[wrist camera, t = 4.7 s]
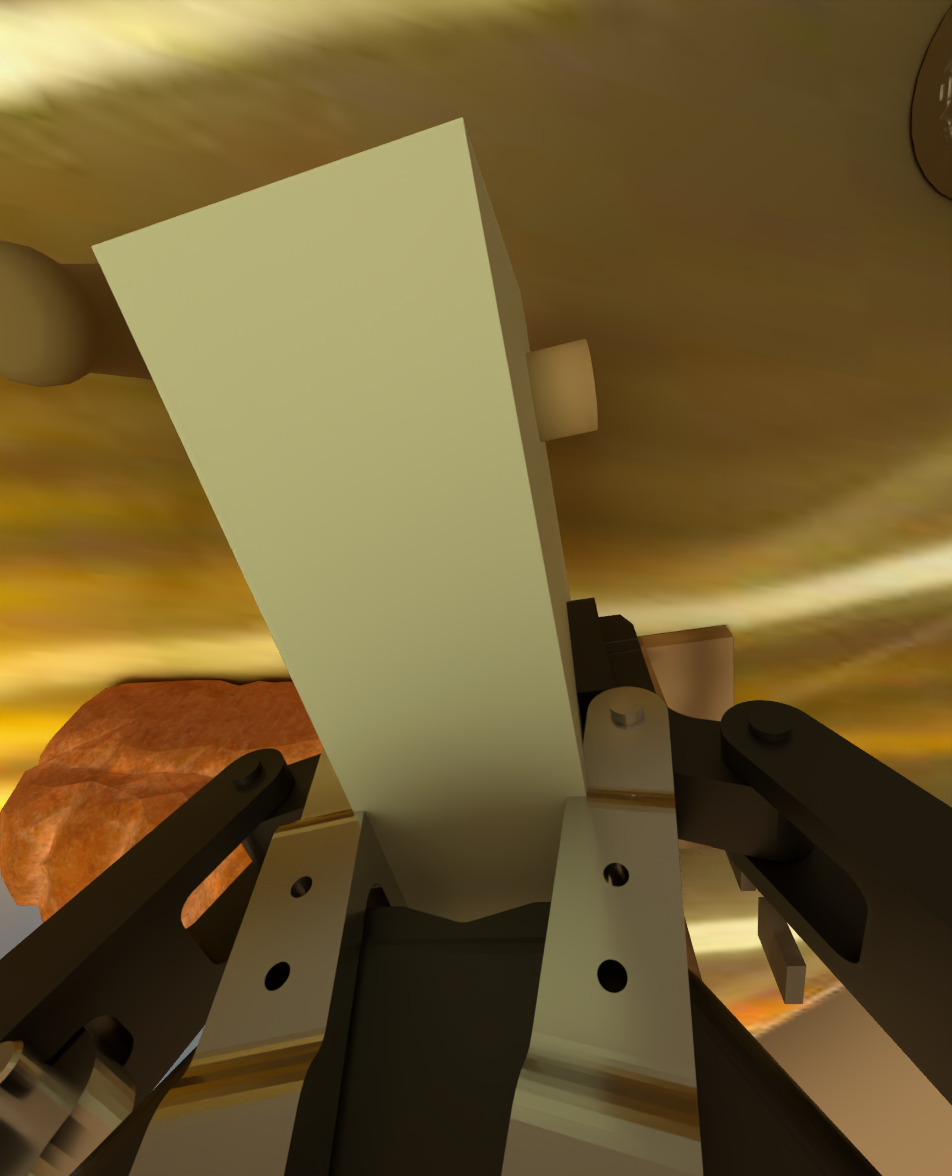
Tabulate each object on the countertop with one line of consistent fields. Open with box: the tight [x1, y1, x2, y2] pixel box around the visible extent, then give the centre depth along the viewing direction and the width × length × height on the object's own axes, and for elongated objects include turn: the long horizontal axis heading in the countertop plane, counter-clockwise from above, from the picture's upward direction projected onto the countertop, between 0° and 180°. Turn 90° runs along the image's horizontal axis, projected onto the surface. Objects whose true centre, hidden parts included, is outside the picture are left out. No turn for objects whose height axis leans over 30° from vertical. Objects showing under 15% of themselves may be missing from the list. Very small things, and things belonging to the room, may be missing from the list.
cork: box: [0, 240, 152, 387], centre depth 24 cm, size 6×6×11 cm
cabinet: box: [637, 625, 806, 1004], centre depth 33 cm, size 18×20×14 cm
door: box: [91, 117, 598, 922], centre depth 13 cm, size 4×16×14 cm, turn 13°
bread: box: [0, 680, 323, 928], centre depth 35 cm, size 14×26×16 cm, turn 93°
